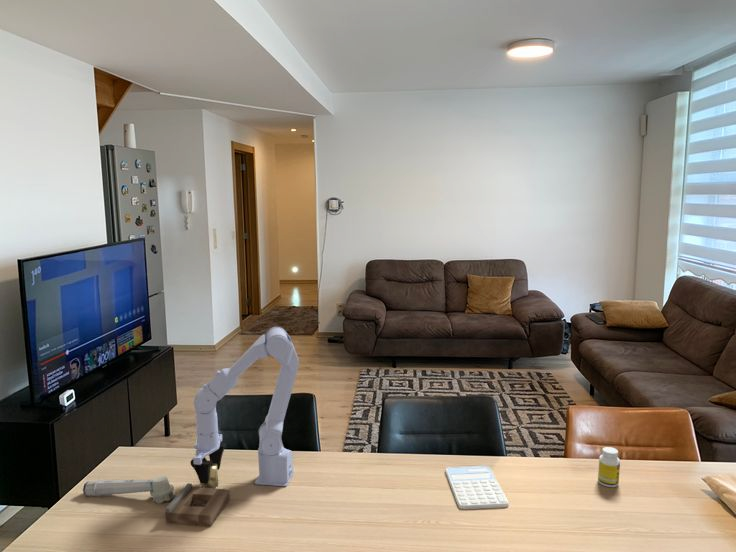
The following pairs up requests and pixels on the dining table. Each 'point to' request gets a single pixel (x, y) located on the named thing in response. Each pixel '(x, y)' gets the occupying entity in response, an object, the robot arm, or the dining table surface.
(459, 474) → the calculator
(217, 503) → the jig
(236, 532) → the dining table surface
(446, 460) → the dining table surface
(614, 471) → the supplement bottle
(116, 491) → the grey long knobbed part
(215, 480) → the tan cylinder
